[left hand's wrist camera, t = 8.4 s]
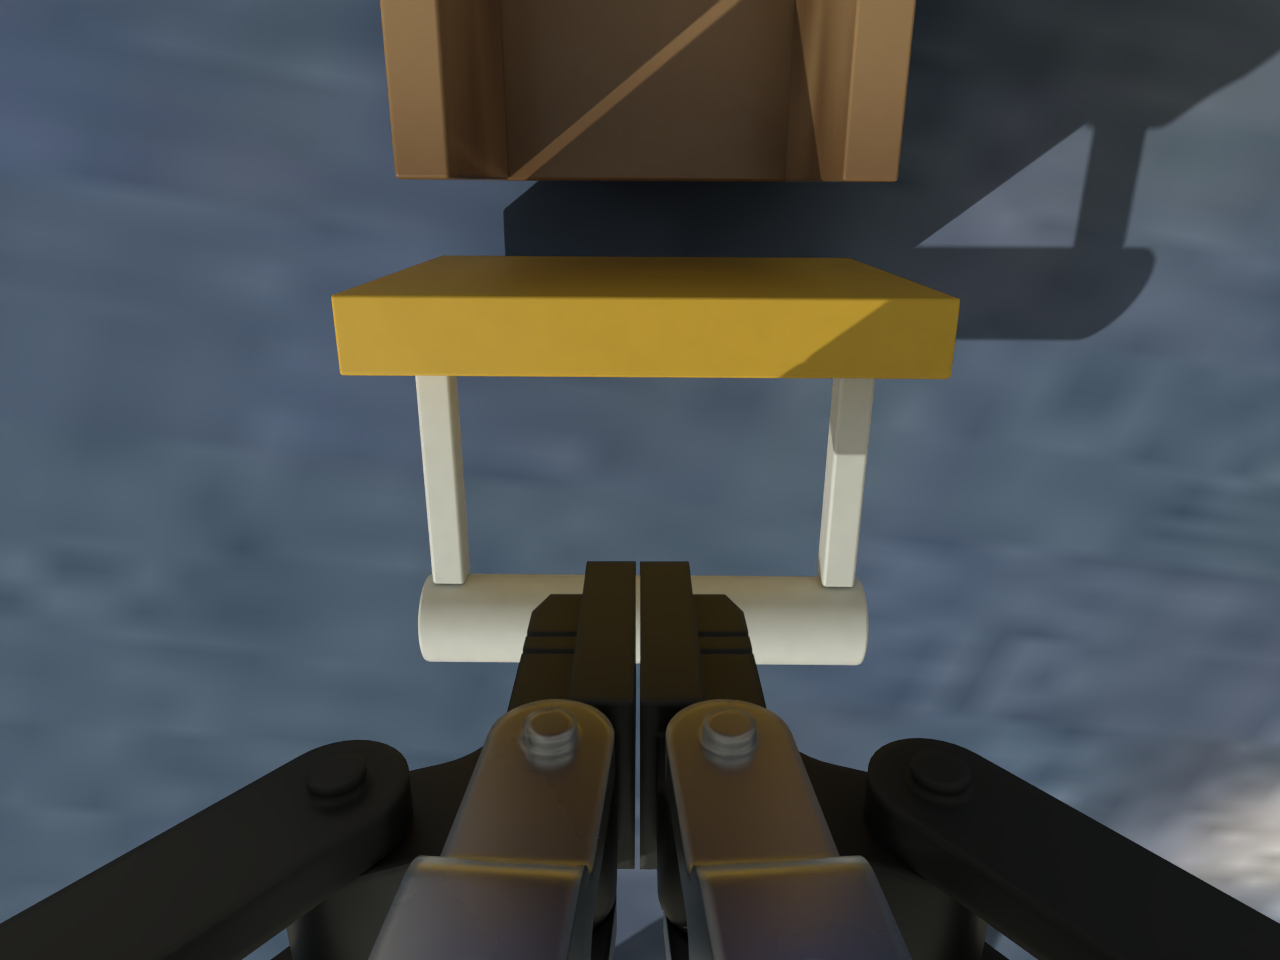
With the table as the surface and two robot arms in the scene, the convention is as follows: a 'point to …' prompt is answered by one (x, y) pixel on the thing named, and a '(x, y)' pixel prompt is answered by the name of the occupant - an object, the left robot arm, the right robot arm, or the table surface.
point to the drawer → (647, 286)
